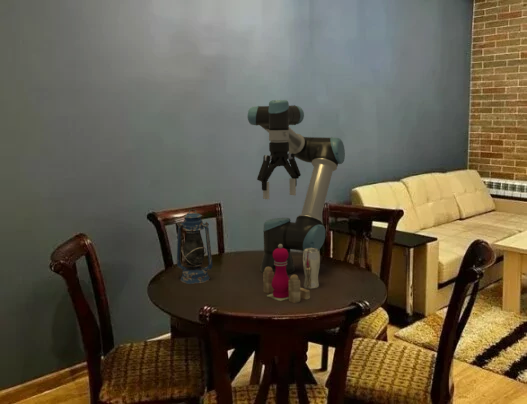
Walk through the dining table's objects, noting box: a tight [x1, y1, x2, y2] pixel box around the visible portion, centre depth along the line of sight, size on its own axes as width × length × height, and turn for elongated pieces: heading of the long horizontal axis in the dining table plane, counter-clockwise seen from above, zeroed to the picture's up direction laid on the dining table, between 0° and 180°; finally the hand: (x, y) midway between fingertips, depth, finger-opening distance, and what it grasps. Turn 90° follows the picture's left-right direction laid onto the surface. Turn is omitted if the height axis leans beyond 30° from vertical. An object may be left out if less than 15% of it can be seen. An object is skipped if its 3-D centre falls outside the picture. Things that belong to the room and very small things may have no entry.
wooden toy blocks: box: [262, 266, 311, 304], centre depth 208 cm, size 18×10×10 cm, turn 40°
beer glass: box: [301, 248, 321, 290], centre depth 219 cm, size 7×7×15 cm
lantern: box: [176, 208, 213, 285], centre depth 229 cm, size 15×12×30 cm
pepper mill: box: [272, 244, 290, 298], centre depth 207 cm, size 7×7×20 cm
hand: (279, 197), depth 212 cm, fingers open, 13 cm apart
